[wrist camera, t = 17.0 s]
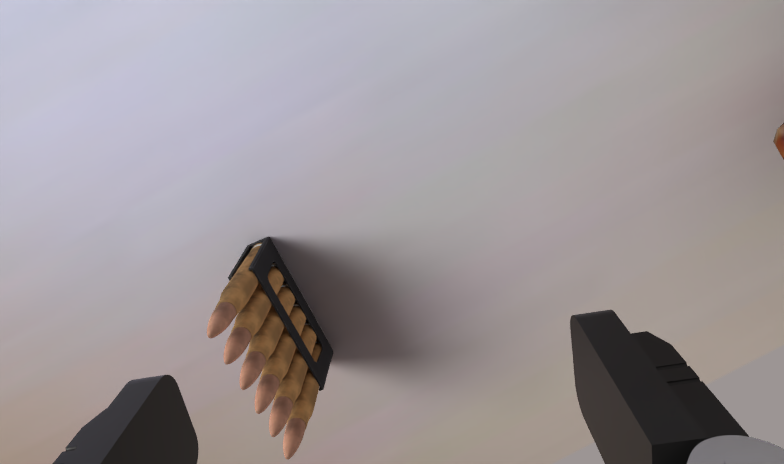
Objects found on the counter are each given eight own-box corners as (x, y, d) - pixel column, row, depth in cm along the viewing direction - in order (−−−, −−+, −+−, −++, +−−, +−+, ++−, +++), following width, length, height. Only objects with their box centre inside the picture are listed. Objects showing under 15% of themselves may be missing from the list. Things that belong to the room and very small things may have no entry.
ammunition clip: (334, 352, 43) (308, 465, 32) (313, 360, 44) (280, 475, 32) (268, 235, 40) (215, 316, 29) (246, 245, 40) (185, 328, 29)
